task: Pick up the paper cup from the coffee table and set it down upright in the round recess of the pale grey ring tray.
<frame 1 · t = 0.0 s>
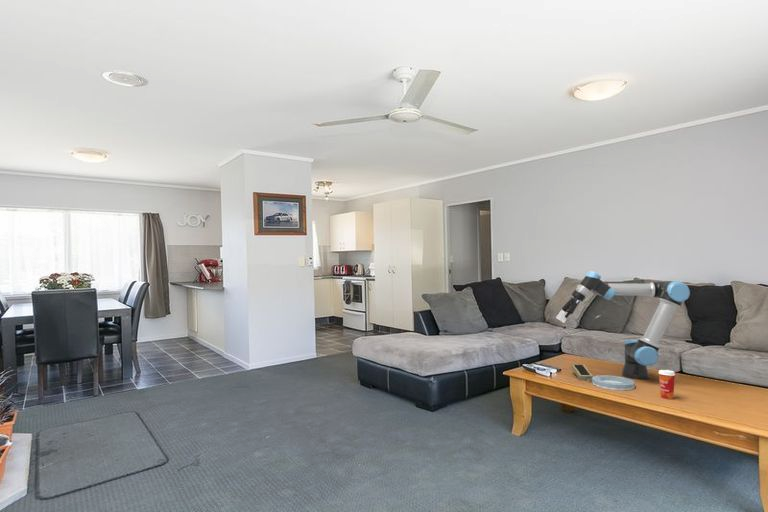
hand: (559, 320, 274), 36 cm above the table, tool tilted 35°, fingers open, 13 cm apart
paper cup: (667, 398, 233), on the table
box: (582, 377, 275), on the table
ring tray: (613, 385, 257), on the table
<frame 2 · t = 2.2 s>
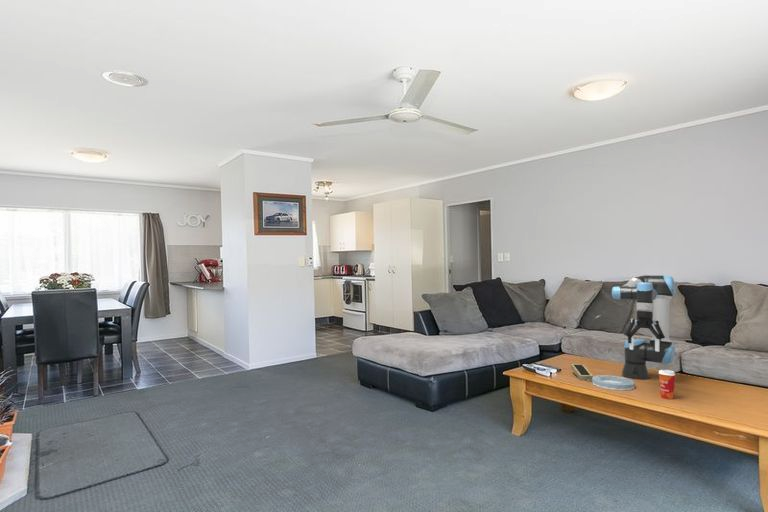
hand: (644, 350, 236), 25 cm above the table, tool pointing down, fingers open, 13 cm apart
nothing on the table moved.
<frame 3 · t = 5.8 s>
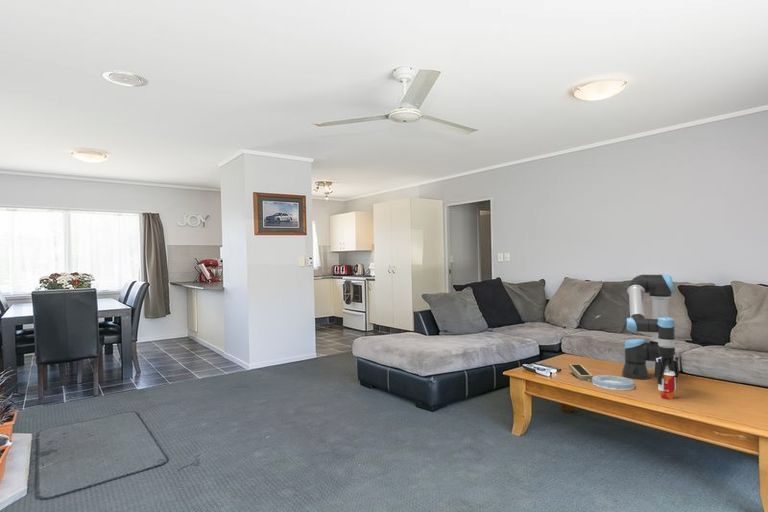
hand: (667, 389, 233), 4 cm above the table, tool pointing down, fingers closed on paper cup, 8 cm apart
paper cup: (667, 398, 233), on the table, touching gripper
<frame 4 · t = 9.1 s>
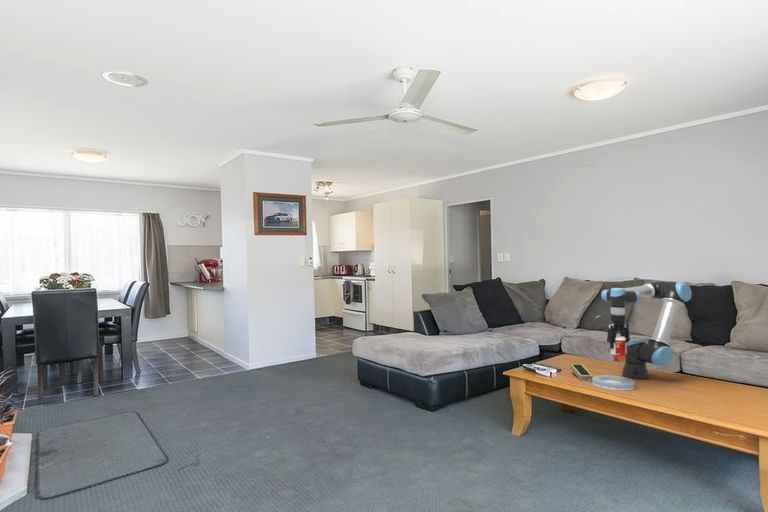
hand: (618, 353, 255), 19 cm above the table, tool pointing down, fingers closed on paper cup, 8 cm apart
paper cup: (618, 361, 254), point 15 cm above the table, touching gripper
everything else where it was.
when the fingers open (7 cm above the table, at t = 12.7 s): paper cup drops 1 cm, resting on ring tray.
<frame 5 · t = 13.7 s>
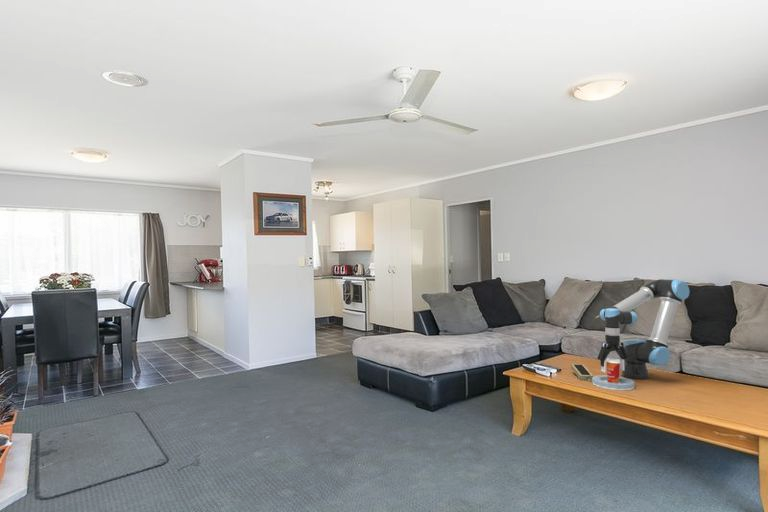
hand: (612, 371, 257), 8 cm above the table, tool pointing down, fingers open, 13 cm apart
paper cup: (612, 383, 257), point 1 cm above the table, touching ring tray
everything else where it was.
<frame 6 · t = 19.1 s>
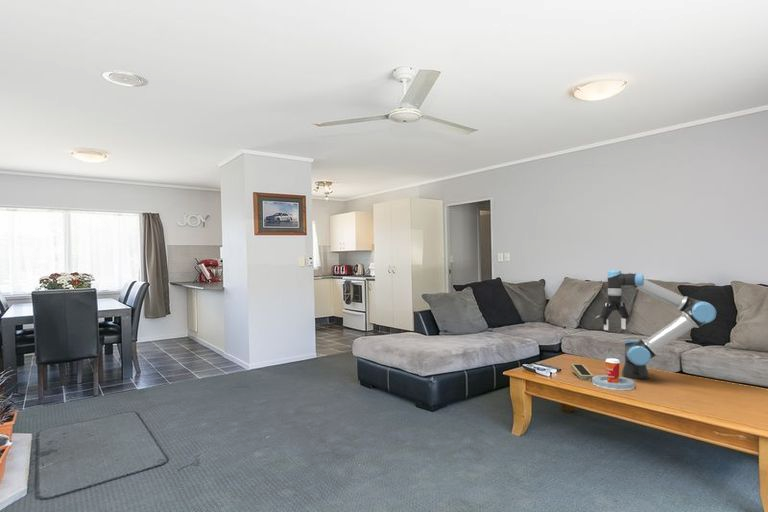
hand: (614, 329, 271), 31 cm above the table, tool pointing down, fingers open, 13 cm apart
nothing on the table moved.
at the end: paper cup 0.0 cm off-centre on the ring tray, point 0.8 cm above the ring tray's base; paper cup tilted 0°; the gripper is holding nothing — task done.
